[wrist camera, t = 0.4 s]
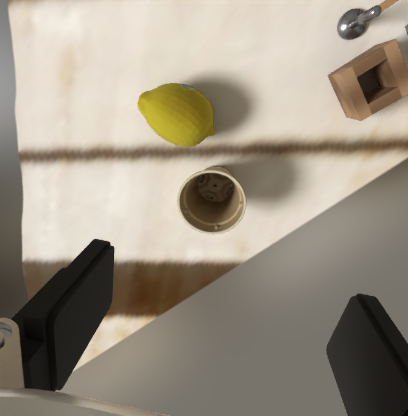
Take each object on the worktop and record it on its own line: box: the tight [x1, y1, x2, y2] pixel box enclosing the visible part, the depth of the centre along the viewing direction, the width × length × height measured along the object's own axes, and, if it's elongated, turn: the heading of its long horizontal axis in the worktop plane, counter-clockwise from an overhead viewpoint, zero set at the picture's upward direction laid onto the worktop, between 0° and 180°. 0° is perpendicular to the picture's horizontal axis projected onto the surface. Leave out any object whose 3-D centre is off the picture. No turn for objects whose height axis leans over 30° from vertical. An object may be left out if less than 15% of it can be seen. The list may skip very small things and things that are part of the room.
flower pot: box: [177, 166, 246, 234], centre depth 41 cm, size 9×9×9 cm
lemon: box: [138, 83, 215, 147], centre depth 38 cm, size 11×8×8 cm
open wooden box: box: [328, 39, 408, 121], centre depth 35 cm, size 6×6×5 cm
